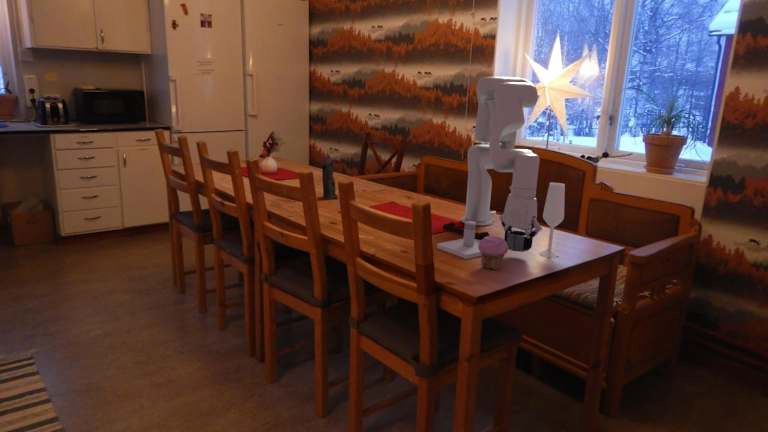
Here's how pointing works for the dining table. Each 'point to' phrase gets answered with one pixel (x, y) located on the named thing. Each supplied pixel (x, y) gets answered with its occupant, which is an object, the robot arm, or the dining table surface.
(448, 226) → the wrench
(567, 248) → the dining table surface
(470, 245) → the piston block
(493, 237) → the cupcake
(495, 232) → the dining table surface
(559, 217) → the champagne flute
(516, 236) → the steel ring
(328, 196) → the statue
